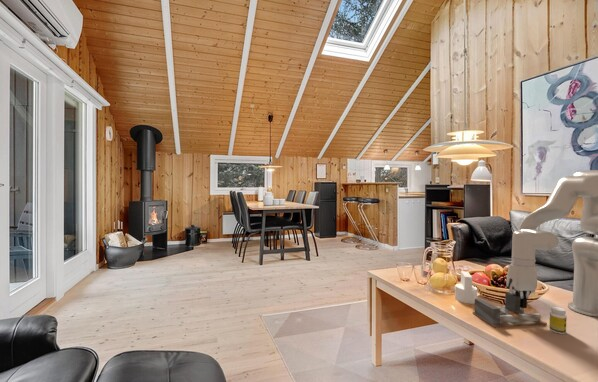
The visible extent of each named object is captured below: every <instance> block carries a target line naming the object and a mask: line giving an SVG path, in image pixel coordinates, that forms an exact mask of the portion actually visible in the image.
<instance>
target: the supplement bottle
mask: <svg viewBox="0 0 598 382" xmlns="http://www.w3.org/2000/svg"><path fill="white" fill-rule="evenodd" d="M550 309H551V311H550V312H549V325H548V327H549V330H550V331H551V332H552V333H556V334H560V335H565V334H566V333H567V320H568V319H567V315H566V309H564V308H562V307H559V306H551V308H550Z"/></svg>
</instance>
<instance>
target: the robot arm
mask: <svg viewBox="0 0 598 382" xmlns="http://www.w3.org/2000/svg"><path fill="white" fill-rule="evenodd" d="M579 198H582V201H583V203H582V209H581V216H580V224H579V226H580V229H581V231H583V232H584V233H586V234H591V235H595V236H598V169H587V170H580V171H579V170H578V171H575V172H574V173H573V174H572V176H570V175H569V176H564V177H561V178H560V179H559V180H558V181H557V182H556V184H555V186H554V187H553V189H552V191H551V192H550V194H549V196H548V198H547V200H546V201H545V203H544V205H542V206H541V207H538V208H537V209H536V210H534V211H532V212H531V213H530V214H527V216H526V217H524V218H523V219H522V221H521V223H520V224H519V227H518V228H517V230H515V231H513V232H512V237H511V238H512V239H511V263H509V265H508V268H507V275H506V281H505V283H506V287H507V288H509V289H508V292H510V293H513V294H516V295H518V296H520V307H521V308H524V309H527V308H528V307H527V306H528V299H529V297H530V295H531V294H533V293H536V290H537V288H538V273H537V266H536V262H537V259H536V250H538V251H539V250H540V251H551V250H555V248H557V247H558V246H559V238H558V236H557V235H556V234H554V233H553V232H550V231H546V230H540V229H538V228H539V227H540V226H541V225H542V224H545V223H548V222H550V221H554V220H558V219H562V218H565V217H567V216H569V215H570V213H571V211H572V210H573V208H574V206H575V205H576V202H577V201H578V199H579ZM571 251H572V256H573V265H574V266H573V287H572V288H573V289H572V291H573V292H572V301H571V302H568V304H567V307H568V308H569V309H570V310H571V311H574V312H575V313H579V314H581V315H586V316H590V317H596V318H598V237H593V236H580V237H577V238H574V240H573V242H572V243H571Z"/></svg>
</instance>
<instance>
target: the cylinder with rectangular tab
mask: <svg viewBox="0 0 598 382" xmlns="http://www.w3.org/2000/svg"><path fill="white" fill-rule="evenodd" d="M474 286H475V285H473V276H472V275H471V274H470V272H469V271H463V270H461V271H460V283H456V284H455V285H454V287H455V288H454V299H455V300H456V301H458V302H460V303H464V304H469V305H470V304H475V299H478V288H477V287H476V286H475V287H474Z"/></svg>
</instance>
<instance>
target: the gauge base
mask: <svg viewBox="0 0 598 382" xmlns="http://www.w3.org/2000/svg"><path fill="white" fill-rule="evenodd" d="M500 308H505V305H502V306H501V305H500V306H499V305H498V306H496V305H494V304H492V303H491V302H488V301H487V300H485V299H483V298H477V299H475V303H474V310H473V311H472V314H473V315H474V316H476V317H478V319H481V320H483V321H484V322H486V323H487V324H489V325H490V326H492V327H493V328H502V327H503V328H510V327H524V326H525V327H527V326H543V325H547V322H546V321H544V320H542V319H541V318H542V315H541V314H540V313H538V312H537V313H534V312H533V313H527V312H526V311H525V308H521V307H520V314H517V315H519V317H516V316H514V315H500Z"/></svg>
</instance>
